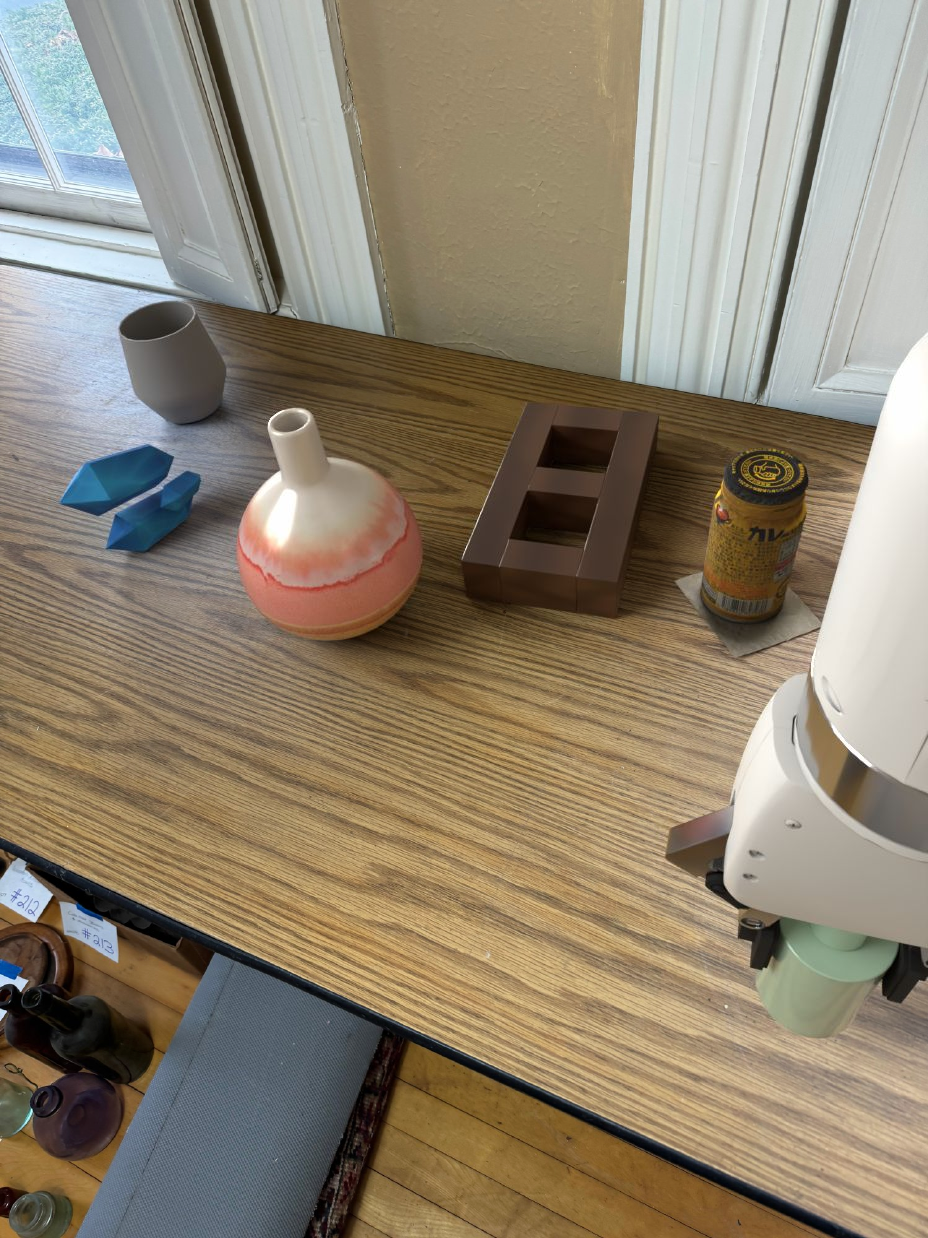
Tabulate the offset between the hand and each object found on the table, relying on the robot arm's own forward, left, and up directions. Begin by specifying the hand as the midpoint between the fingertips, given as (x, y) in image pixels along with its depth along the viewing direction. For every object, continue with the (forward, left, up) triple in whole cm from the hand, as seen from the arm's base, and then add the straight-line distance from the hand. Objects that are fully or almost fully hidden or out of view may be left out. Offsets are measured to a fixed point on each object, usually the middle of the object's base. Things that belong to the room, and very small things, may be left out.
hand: (824, 950), depth 38 cm
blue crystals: (+56, -28, -9) cm, 63 cm away
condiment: (+4, -29, -9) cm, 30 cm away
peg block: (+20, -36, -9) cm, 42 cm away
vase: (+35, -23, -9) cm, 42 cm away
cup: (+62, -46, -9) cm, 77 cm away
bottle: (0, 0, -5) cm, 5 cm away
